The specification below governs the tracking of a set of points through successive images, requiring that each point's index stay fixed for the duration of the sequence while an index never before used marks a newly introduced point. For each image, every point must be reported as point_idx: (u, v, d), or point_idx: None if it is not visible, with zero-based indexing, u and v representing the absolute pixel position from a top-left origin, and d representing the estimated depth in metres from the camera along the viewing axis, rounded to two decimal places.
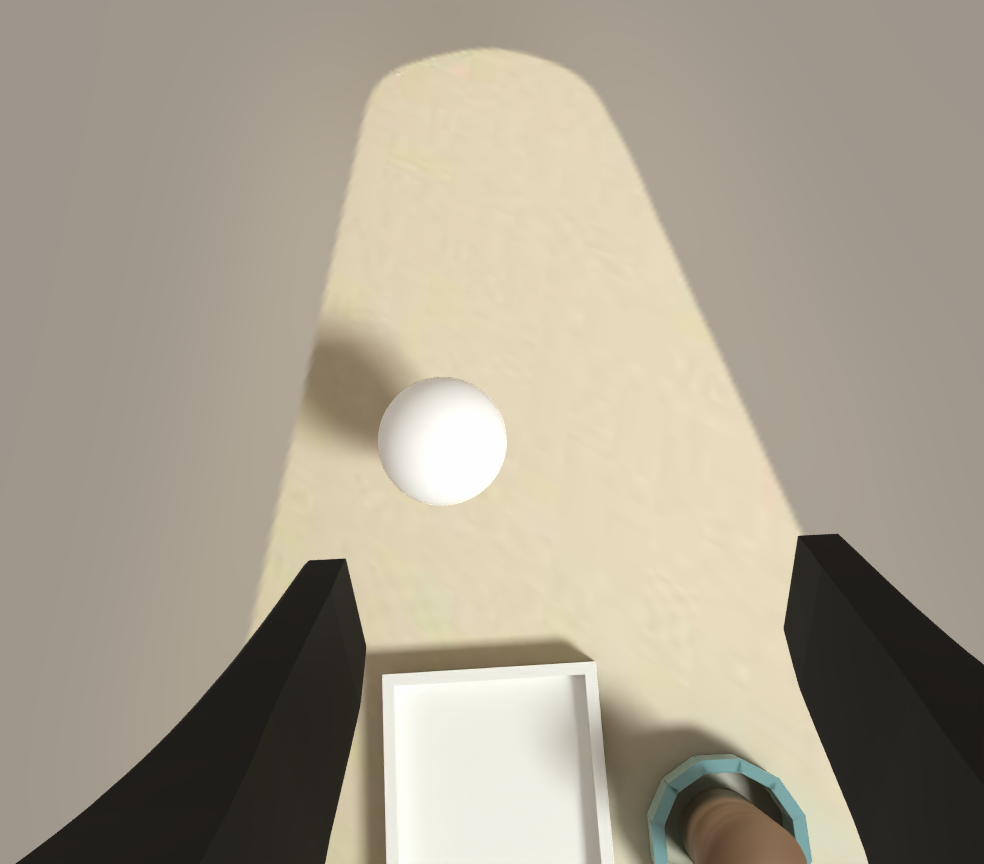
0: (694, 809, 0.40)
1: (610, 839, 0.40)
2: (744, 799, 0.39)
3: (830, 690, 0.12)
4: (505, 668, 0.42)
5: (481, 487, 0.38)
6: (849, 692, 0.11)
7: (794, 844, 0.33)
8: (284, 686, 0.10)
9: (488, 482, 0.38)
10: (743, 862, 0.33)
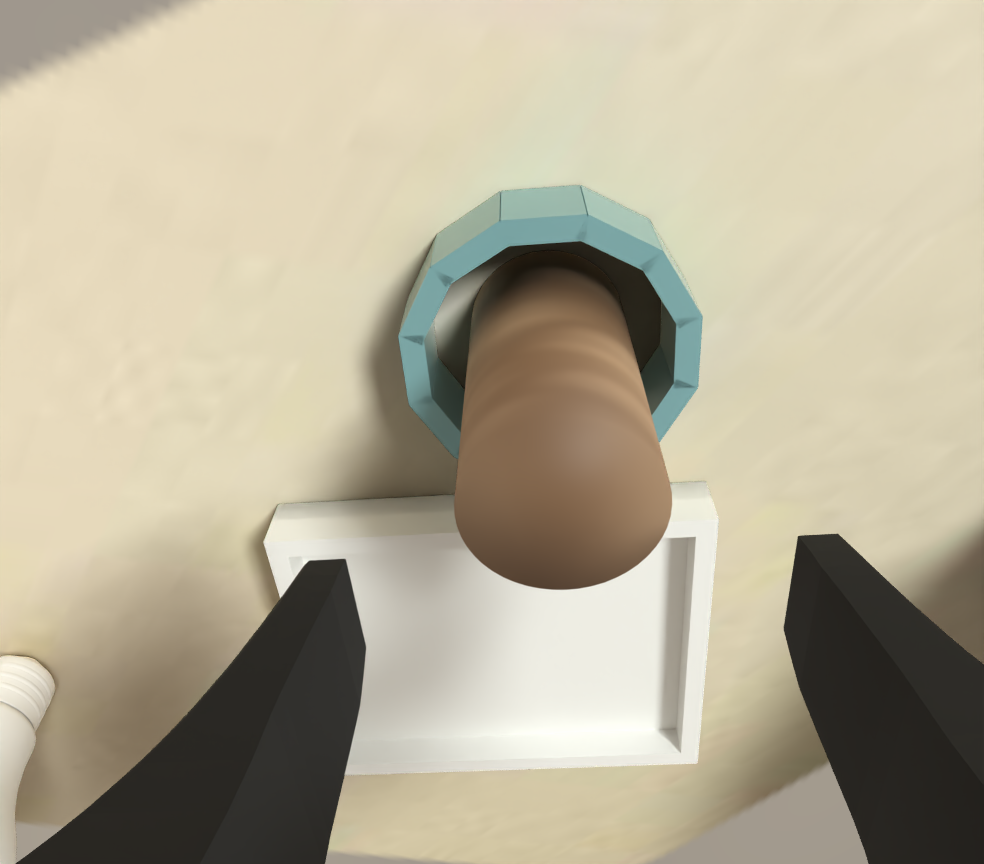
0: None
1: None
2: (474, 332, 0.20)
3: (830, 690, 0.12)
4: None
5: None
6: (849, 692, 0.11)
7: (505, 440, 0.14)
8: (284, 686, 0.10)
9: None
10: (543, 532, 0.15)
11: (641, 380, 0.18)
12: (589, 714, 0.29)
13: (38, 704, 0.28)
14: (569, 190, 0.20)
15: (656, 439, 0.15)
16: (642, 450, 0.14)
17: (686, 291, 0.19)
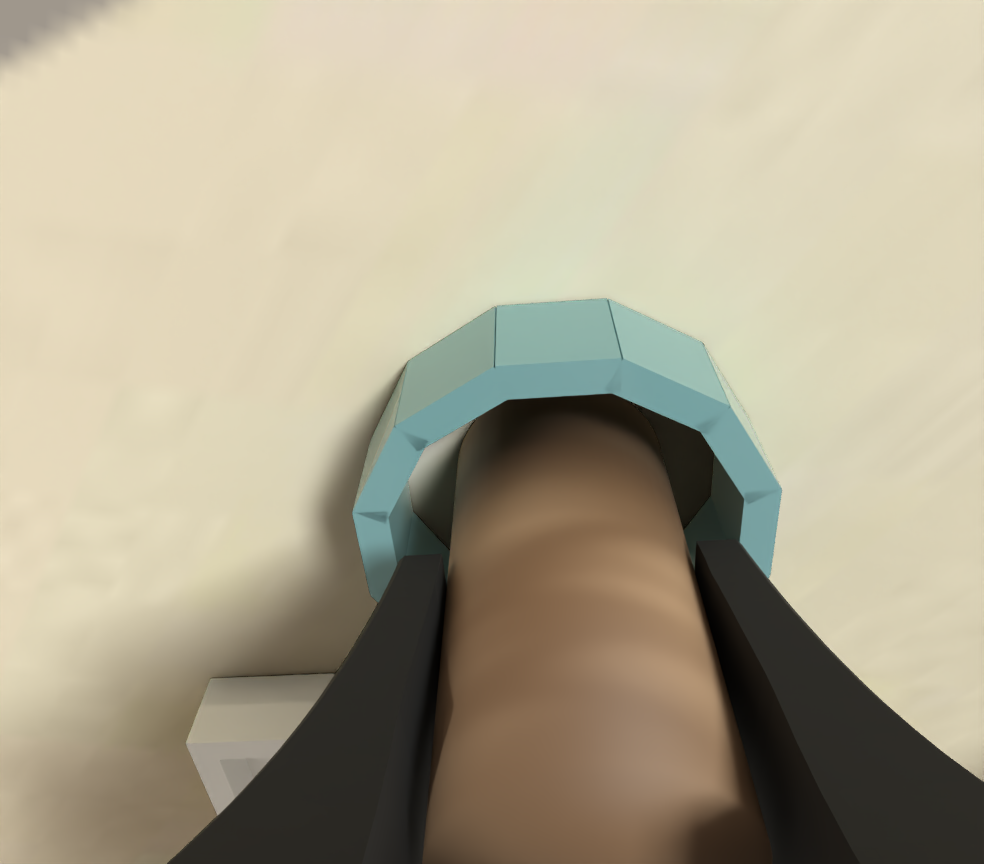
0: None
1: None
2: (459, 507, 0.14)
3: None
4: None
5: None
6: (733, 697, 0.11)
7: (504, 794, 0.09)
8: (406, 681, 0.10)
9: None
10: None
11: (703, 606, 0.12)
12: None
13: None
14: (592, 308, 0.14)
15: (742, 753, 0.10)
16: (729, 807, 0.09)
17: (760, 457, 0.13)
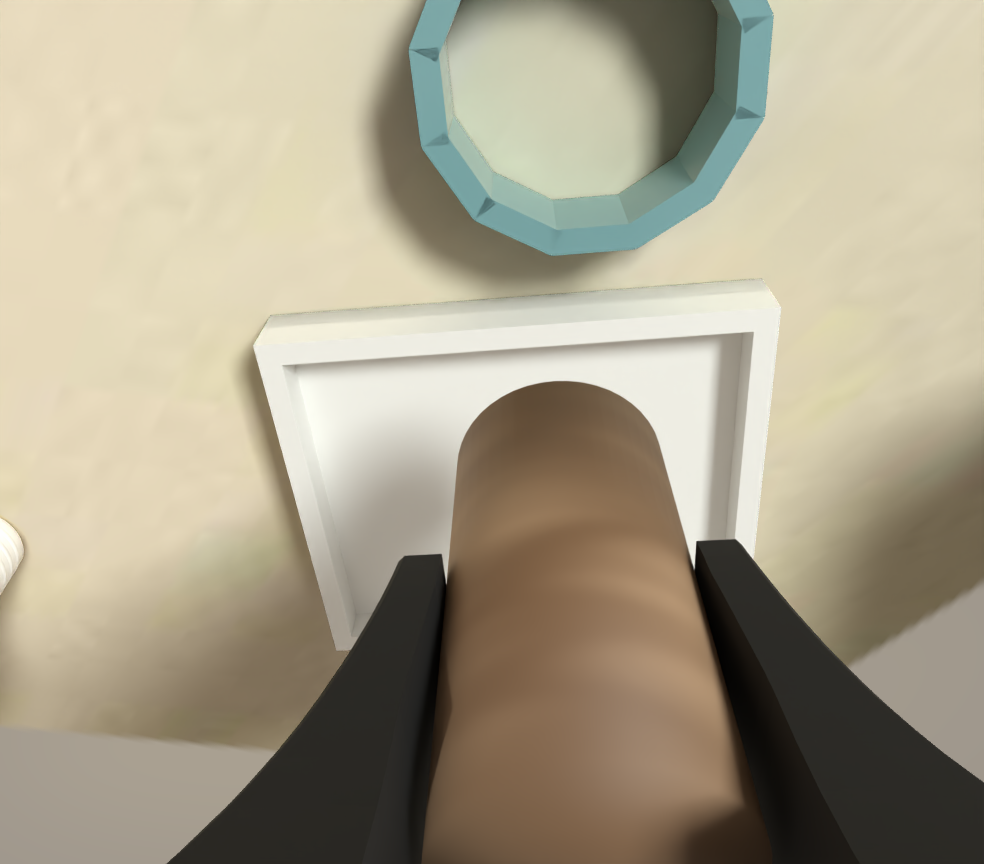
0: None
1: (583, 324, 0.20)
2: (458, 506, 0.14)
3: None
4: (296, 492, 0.23)
5: None
6: (733, 697, 0.11)
7: (504, 792, 0.09)
8: (406, 681, 0.10)
9: None
10: None
11: (703, 605, 0.12)
12: None
13: (3, 562, 0.25)
14: None
15: (742, 752, 0.10)
16: (728, 806, 0.09)
17: None
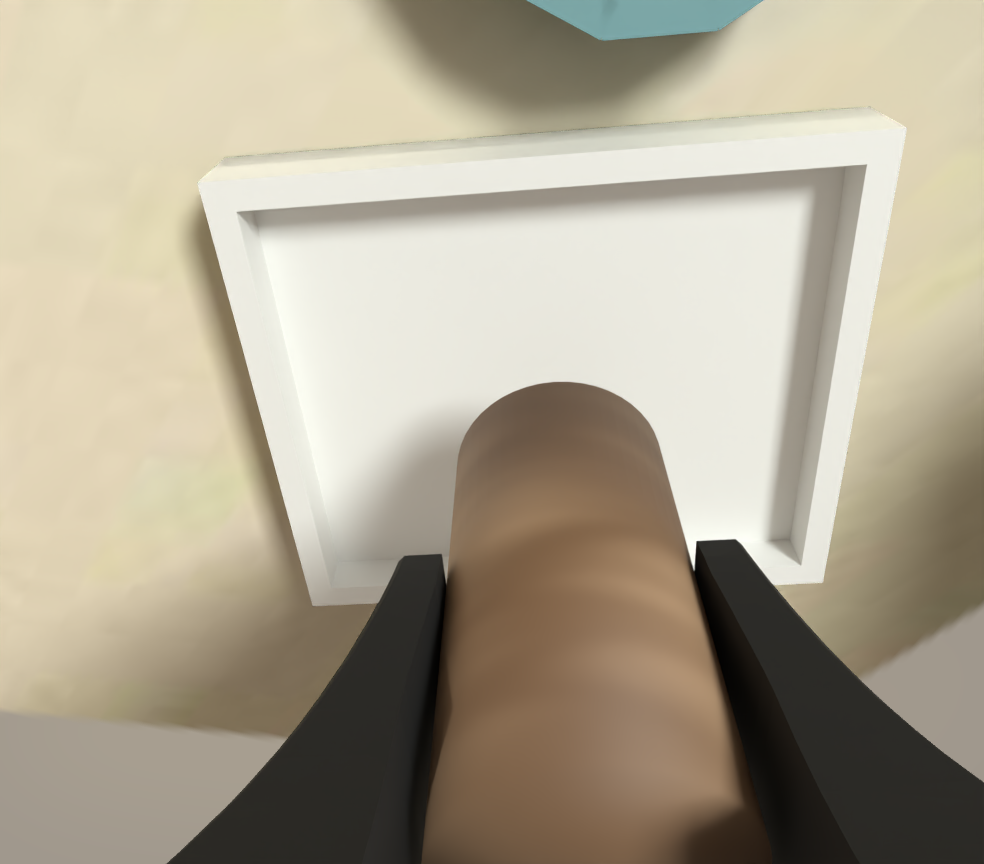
0: None
1: (639, 152, 0.15)
2: (458, 507, 0.14)
3: None
4: (258, 393, 0.18)
5: None
6: (733, 697, 0.11)
7: (503, 794, 0.09)
8: (406, 681, 0.10)
9: None
10: None
11: (703, 606, 0.12)
12: None
13: None
14: None
15: (742, 753, 0.10)
16: (728, 807, 0.09)
17: None
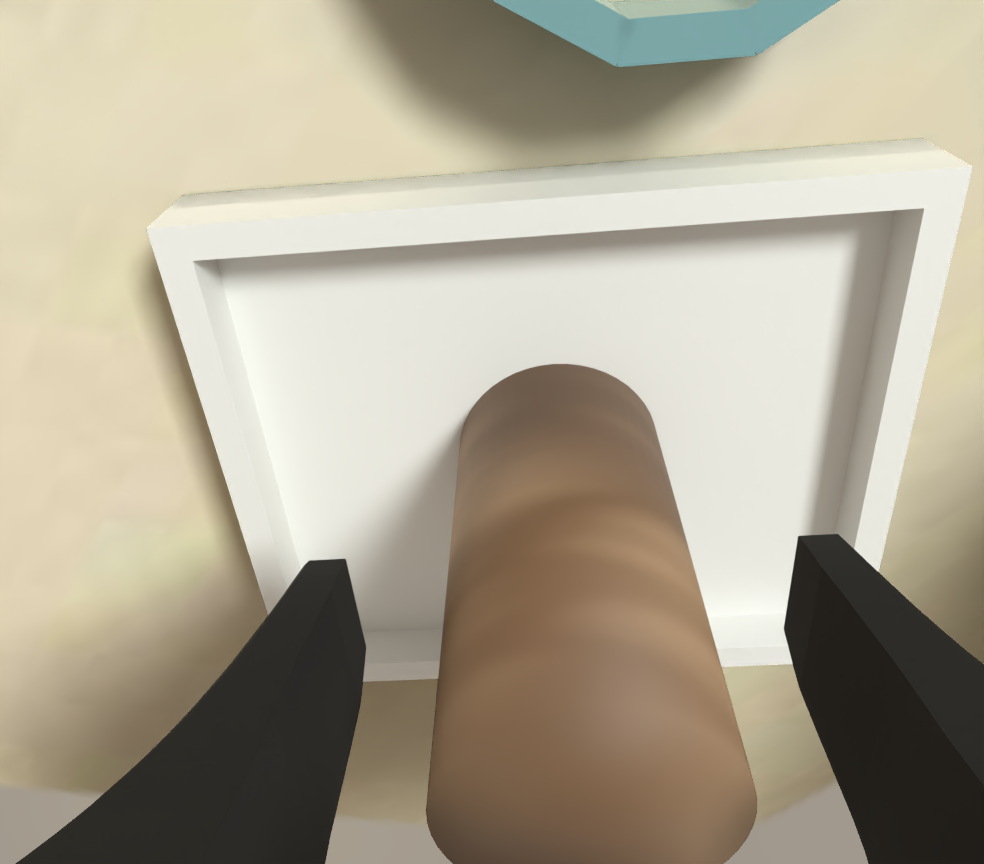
0: None
1: (659, 194, 0.13)
2: (461, 483, 0.15)
3: (830, 690, 0.12)
4: (223, 460, 0.16)
5: None
6: (849, 692, 0.11)
7: (504, 736, 0.09)
8: (284, 686, 0.10)
9: None
10: (560, 843, 0.10)
11: (695, 573, 0.13)
12: None
13: None
14: None
15: (729, 705, 0.10)
16: (715, 750, 0.09)
17: None
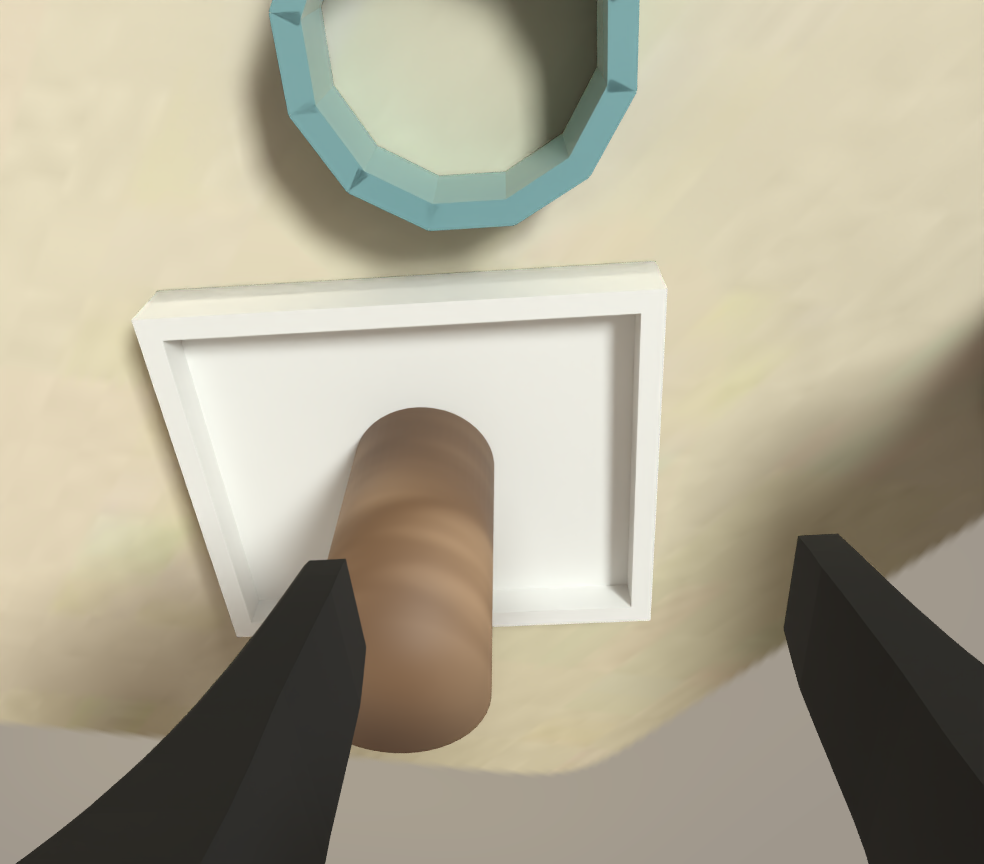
0: None
1: (468, 302, 0.20)
2: (346, 490, 0.21)
3: (830, 690, 0.12)
4: (185, 472, 0.23)
5: None
6: (849, 692, 0.11)
7: None
8: (284, 686, 0.10)
9: None
10: (379, 708, 0.17)
11: (486, 550, 0.19)
12: (528, 565, 0.26)
13: None
14: None
15: (480, 626, 0.17)
16: (458, 647, 0.16)
17: None
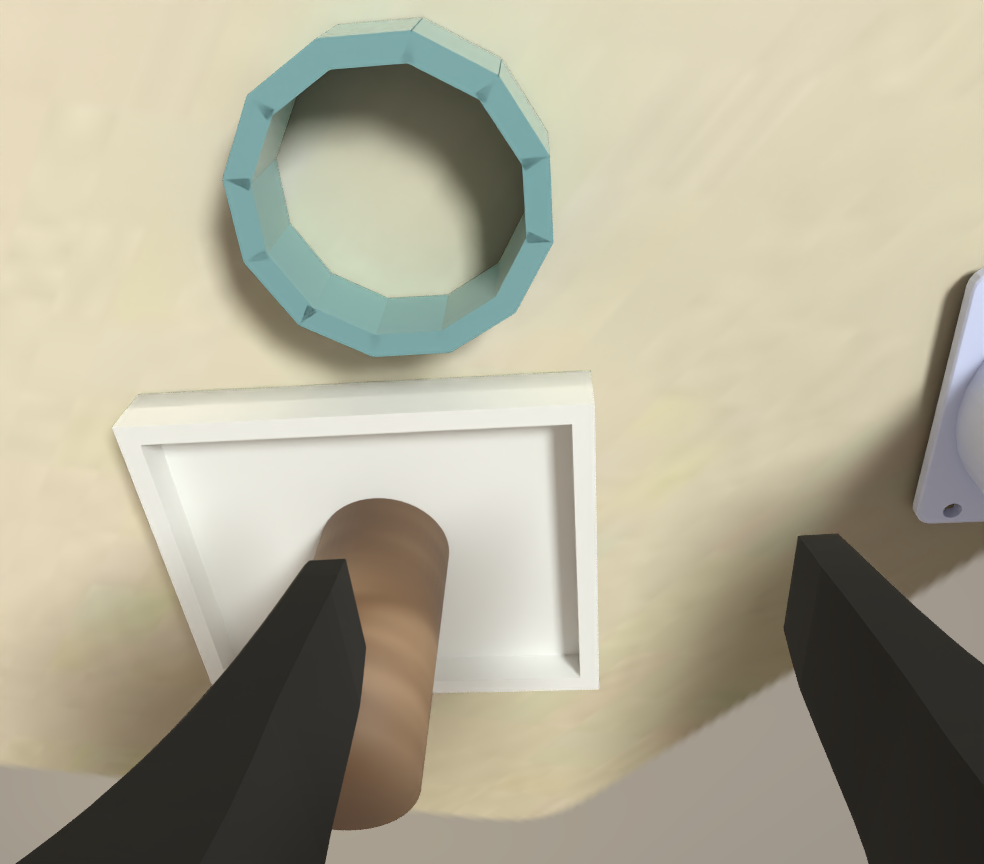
0: None
1: (413, 414, 0.22)
2: None
3: (830, 690, 0.12)
4: (164, 556, 0.25)
5: None
6: (849, 692, 0.11)
7: None
8: (284, 686, 0.10)
9: None
10: None
11: (428, 641, 0.21)
12: (485, 636, 0.28)
13: None
14: (408, 20, 0.18)
15: (413, 720, 0.19)
16: (388, 744, 0.18)
17: (529, 125, 0.17)
